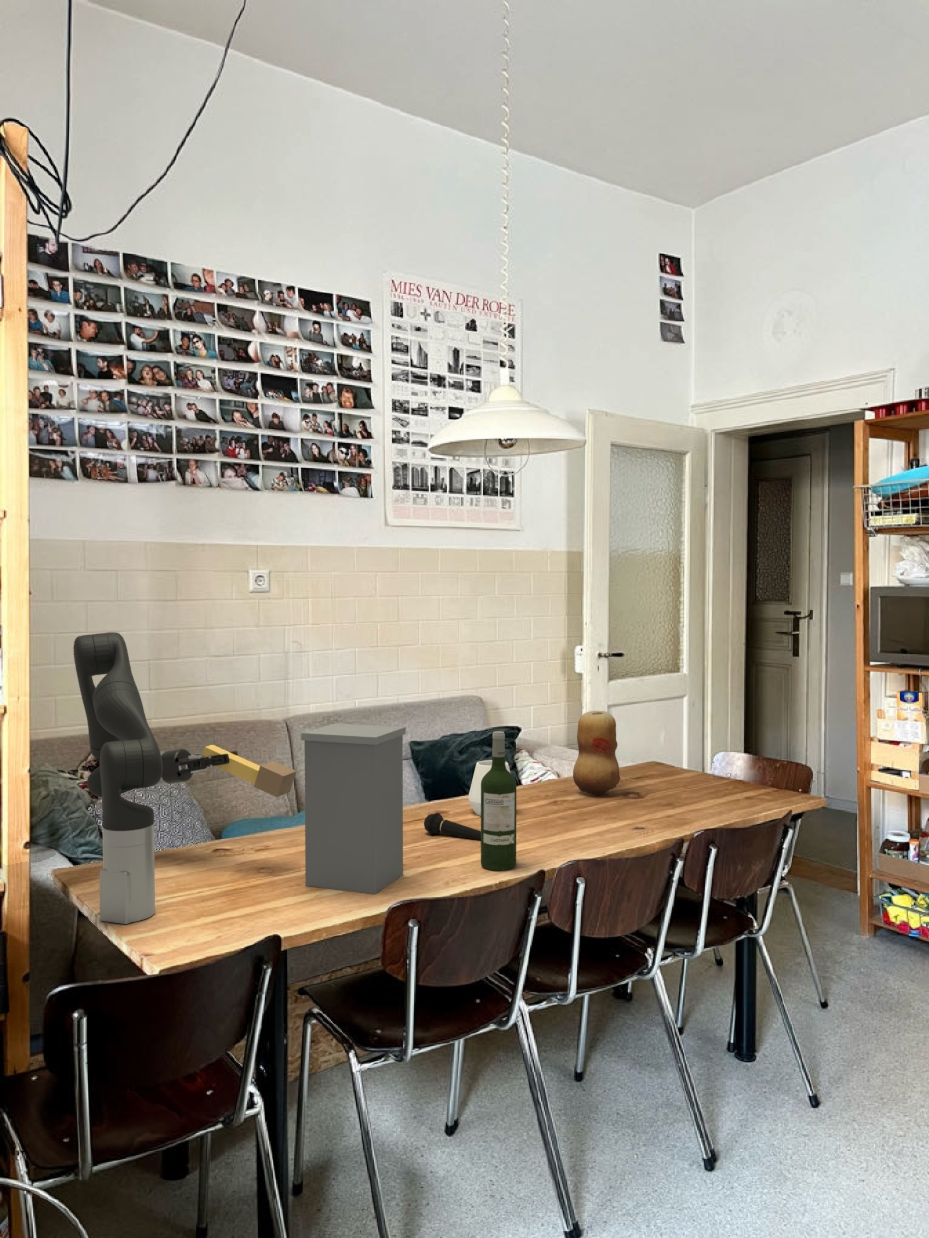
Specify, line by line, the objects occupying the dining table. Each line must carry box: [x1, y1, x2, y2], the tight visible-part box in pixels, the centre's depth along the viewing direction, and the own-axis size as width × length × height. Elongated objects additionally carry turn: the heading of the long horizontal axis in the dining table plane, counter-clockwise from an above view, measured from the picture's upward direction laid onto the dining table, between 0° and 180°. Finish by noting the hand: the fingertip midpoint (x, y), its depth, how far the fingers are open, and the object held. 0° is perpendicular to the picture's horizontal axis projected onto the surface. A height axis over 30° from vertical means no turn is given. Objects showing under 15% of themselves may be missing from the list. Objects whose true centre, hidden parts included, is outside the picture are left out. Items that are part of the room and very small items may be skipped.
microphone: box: [423, 812, 481, 842], centre depth 236 cm, size 6×6×20 cm
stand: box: [300, 723, 407, 895], centre depth 200 cm, size 17×15×32 cm
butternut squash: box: [572, 710, 621, 796], centre depth 284 cm, size 14×13×25 cm
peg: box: [202, 744, 297, 798], centre depth 211 cm, size 21×6×5 cm, turn 72°
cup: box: [467, 759, 511, 817], centre depth 261 cm, size 13×13×14 cm
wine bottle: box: [480, 730, 517, 872], centre depth 211 cm, size 8×8×30 cm
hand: (232, 757), depth 212 cm, fingers closed on peg, 3 cm apart
